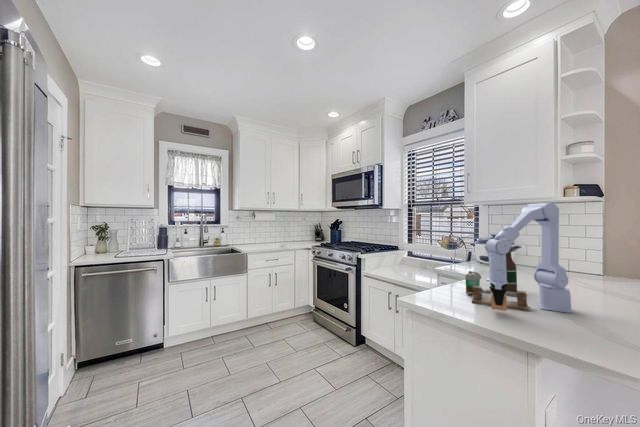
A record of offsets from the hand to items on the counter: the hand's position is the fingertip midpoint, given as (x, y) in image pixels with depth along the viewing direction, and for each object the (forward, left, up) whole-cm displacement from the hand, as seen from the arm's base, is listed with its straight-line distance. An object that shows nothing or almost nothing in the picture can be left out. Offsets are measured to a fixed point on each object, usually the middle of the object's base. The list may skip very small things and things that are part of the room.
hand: (498, 303), depth 103 cm
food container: (+10, -24, -4) cm, 26 cm away
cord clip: (0, 0, -2) cm, 2 cm away
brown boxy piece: (0, -12, -4) cm, 13 cm away
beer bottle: (-4, -38, -4) cm, 38 cm away
